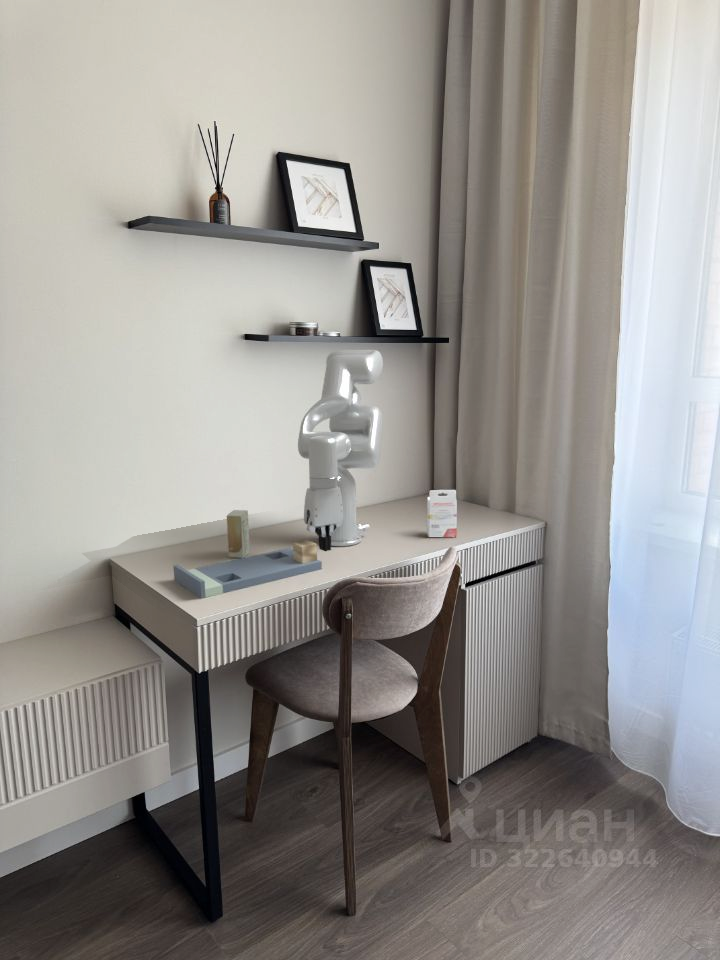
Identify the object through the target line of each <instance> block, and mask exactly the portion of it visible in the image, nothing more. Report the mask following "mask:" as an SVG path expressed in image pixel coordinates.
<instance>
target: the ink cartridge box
mask: <svg viewBox="0 0 720 960" xmlns="http://www.w3.org/2000/svg"><path fill="white" fill-rule="evenodd" d="M428 493H429V494H428V495H429V496H427V499H426V502H427V503H426V506H427V507H426V513H427V514H426V521H427V522H426V523H427V525H426V527H427V528H426V530H427V531H426V533H427V536H428V538H429V537H452V536H458V531H457V529H458V528H457V527H458V525H457V524H458V520H457V519H458V517H457V515H458V510H457V509H458V507H457V506H458V504H457V503H458V500H457V490H456V489H437V490H436V489H435V490H433V489H432V490H429V492H428ZM442 494H444V495H442Z"/></svg>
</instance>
